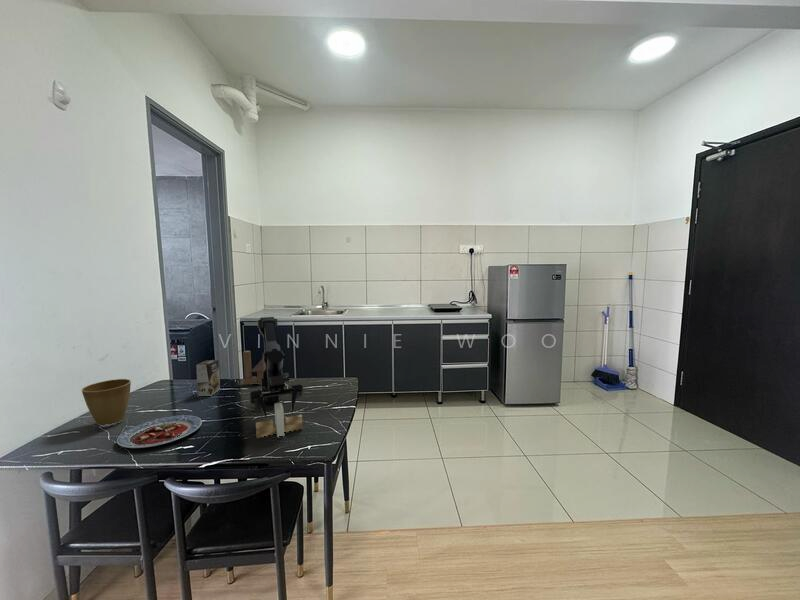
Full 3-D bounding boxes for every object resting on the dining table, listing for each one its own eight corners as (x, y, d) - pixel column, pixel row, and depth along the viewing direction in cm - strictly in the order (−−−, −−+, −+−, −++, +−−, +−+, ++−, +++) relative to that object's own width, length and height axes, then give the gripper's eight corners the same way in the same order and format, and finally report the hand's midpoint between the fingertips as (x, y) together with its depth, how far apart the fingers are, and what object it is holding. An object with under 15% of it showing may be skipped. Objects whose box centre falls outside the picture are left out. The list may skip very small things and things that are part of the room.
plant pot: (99, 418, 144) (95, 380, 143) (140, 414, 148) (137, 377, 146) (75, 434, 130) (71, 392, 128) (122, 429, 133) (118, 388, 132)
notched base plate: (256, 438, 124) (255, 424, 124) (256, 435, 126) (255, 422, 126) (302, 429, 131) (302, 416, 130) (301, 427, 133) (301, 414, 132)
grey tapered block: (275, 429, 131) (274, 403, 130) (282, 427, 132) (281, 402, 132) (277, 437, 124) (276, 410, 124) (284, 436, 125) (283, 409, 125)
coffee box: (210, 397, 167) (208, 364, 166) (197, 397, 167) (195, 364, 166) (220, 390, 176) (219, 359, 175) (208, 390, 176) (206, 359, 175)
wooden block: (264, 384, 184) (262, 351, 183) (243, 385, 183) (241, 352, 182) (266, 382, 188) (264, 349, 187) (246, 383, 187) (244, 350, 186)
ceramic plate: (184, 449, 118) (183, 440, 118) (98, 457, 114) (98, 448, 113) (212, 418, 143) (211, 411, 143) (143, 423, 139) (142, 416, 139)
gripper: (248, 369, 127) (251, 409, 117) (301, 363, 134) (307, 400, 125) (249, 384, 134) (251, 423, 125) (299, 377, 142) (304, 413, 133)
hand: (279, 414), depth 127 cm, fingers open, 9 cm apart
